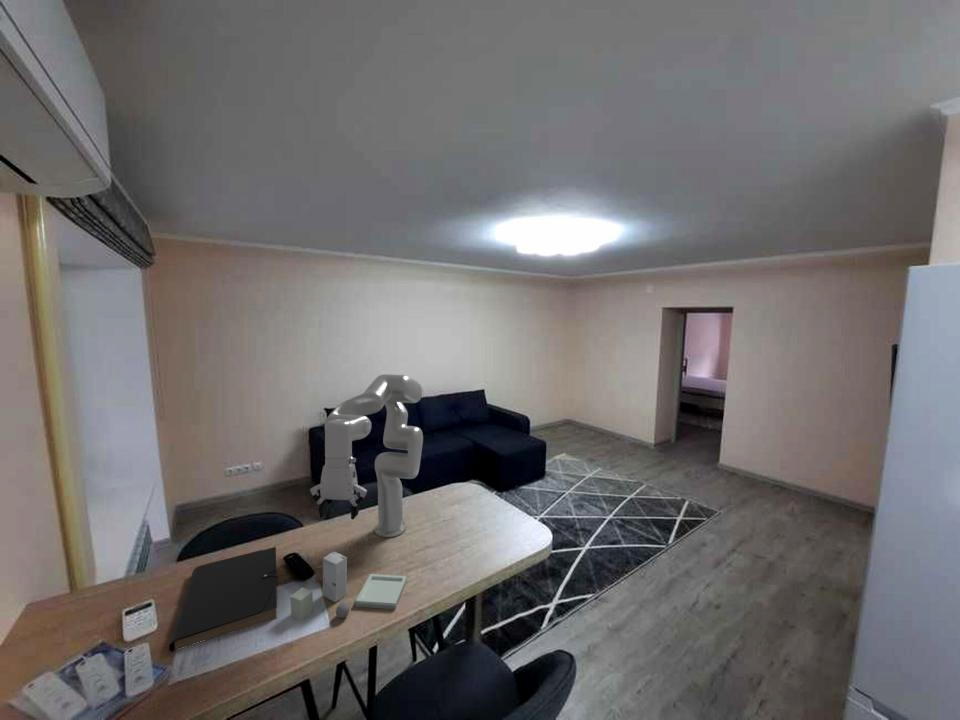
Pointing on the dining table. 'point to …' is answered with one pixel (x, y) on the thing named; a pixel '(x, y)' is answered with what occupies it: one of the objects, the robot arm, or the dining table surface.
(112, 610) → the dining table surface
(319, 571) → the walnut cube
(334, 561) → the skincare box
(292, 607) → the sage block
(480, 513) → the dining table surface
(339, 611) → the grey ball
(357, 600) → the tray
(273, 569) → the file folder
